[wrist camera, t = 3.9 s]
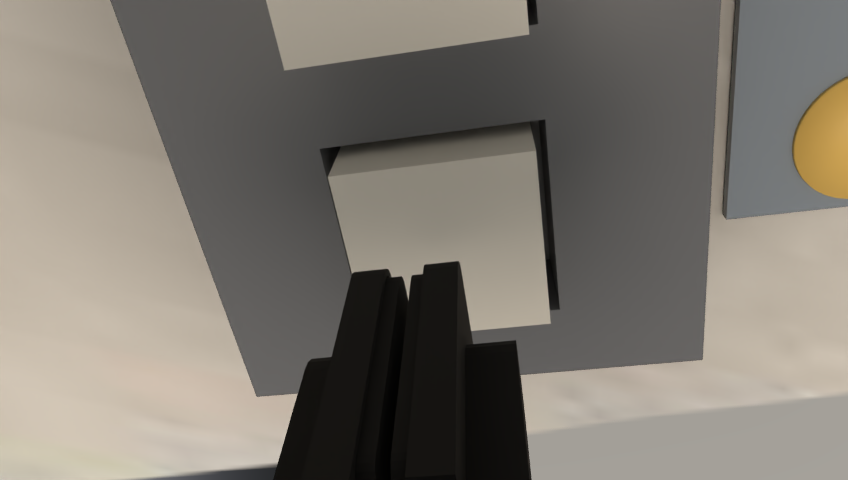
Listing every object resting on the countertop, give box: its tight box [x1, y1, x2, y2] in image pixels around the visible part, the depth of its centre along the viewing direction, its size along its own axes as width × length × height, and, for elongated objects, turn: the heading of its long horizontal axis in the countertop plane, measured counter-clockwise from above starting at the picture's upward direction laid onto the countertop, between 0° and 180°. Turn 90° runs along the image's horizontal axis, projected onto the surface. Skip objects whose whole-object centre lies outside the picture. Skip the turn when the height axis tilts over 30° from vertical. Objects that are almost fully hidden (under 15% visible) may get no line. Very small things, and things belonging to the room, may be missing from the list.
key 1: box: [328, 121, 551, 331], centre depth 16 cm, size 4×4×3 cm
